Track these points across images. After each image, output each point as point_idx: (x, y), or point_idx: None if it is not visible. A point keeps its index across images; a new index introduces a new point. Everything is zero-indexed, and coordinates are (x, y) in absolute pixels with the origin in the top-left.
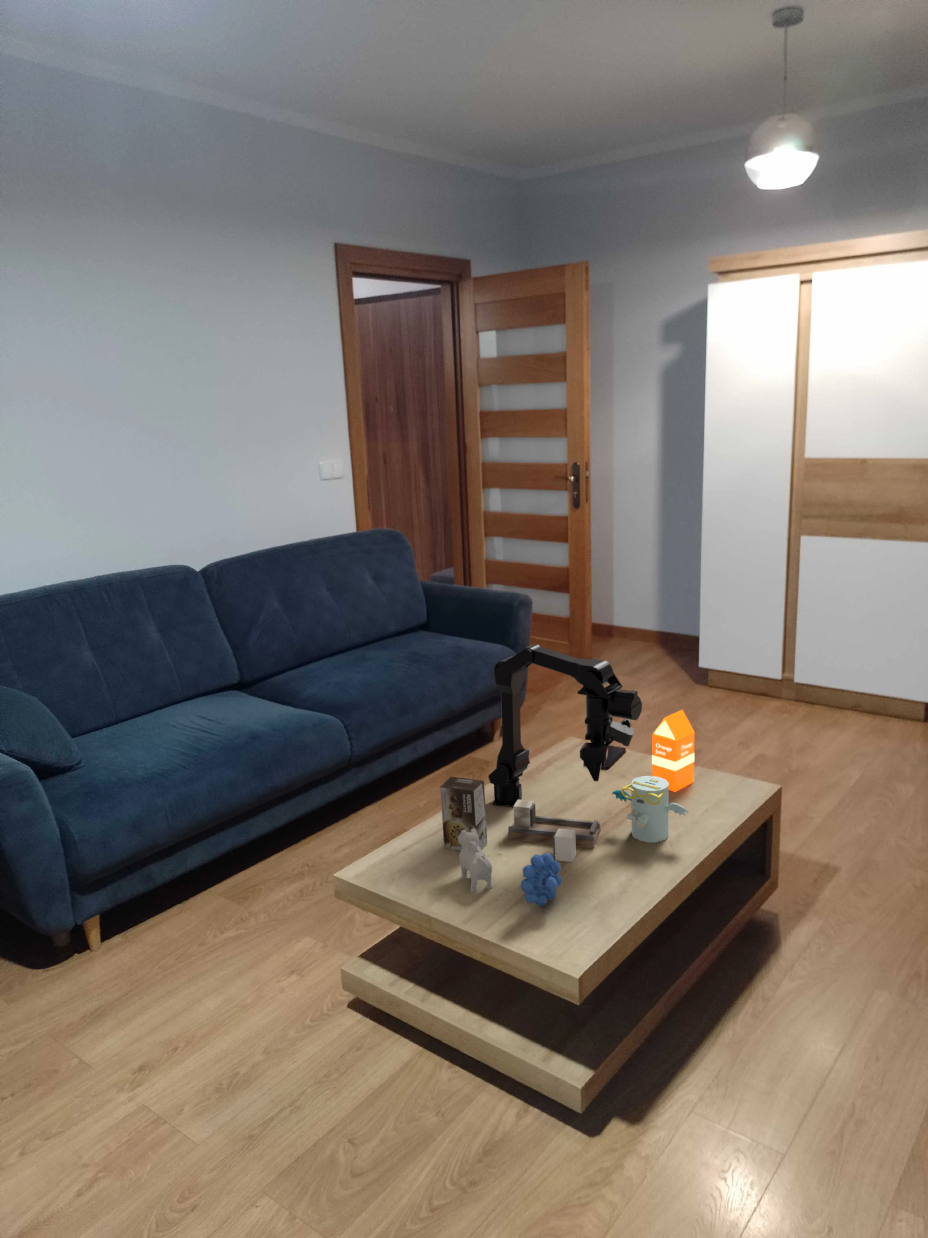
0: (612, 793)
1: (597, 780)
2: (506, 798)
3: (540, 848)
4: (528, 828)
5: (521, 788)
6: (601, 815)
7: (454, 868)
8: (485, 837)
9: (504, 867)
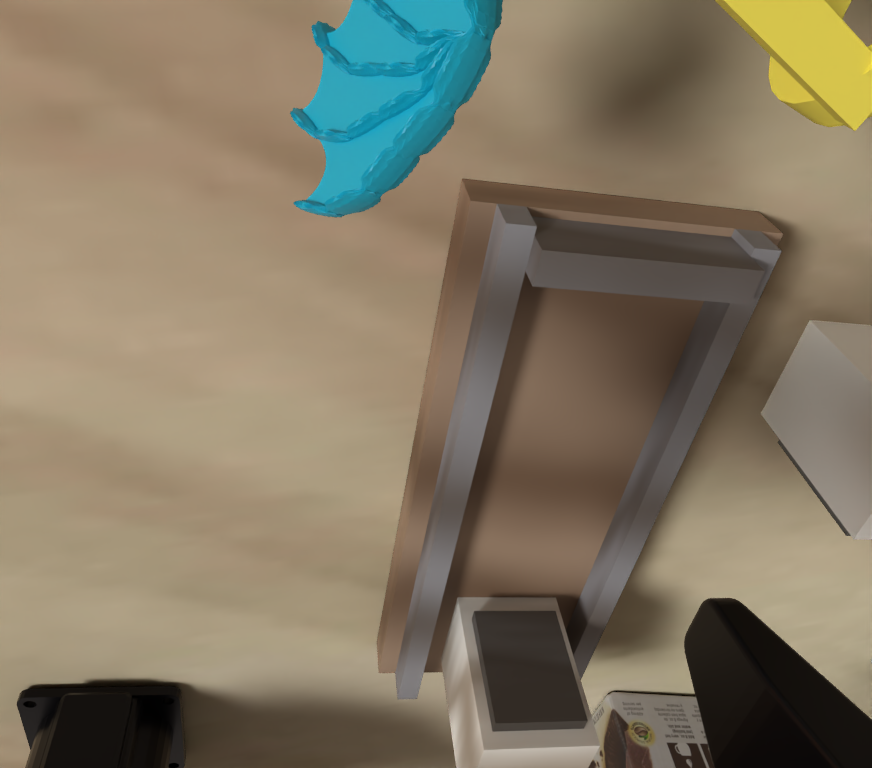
0: (341, 214)
1: (745, 619)
2: (164, 761)
3: (696, 504)
4: (594, 624)
5: (48, 762)
6: (126, 191)
7: None
8: (641, 729)
9: (860, 597)
